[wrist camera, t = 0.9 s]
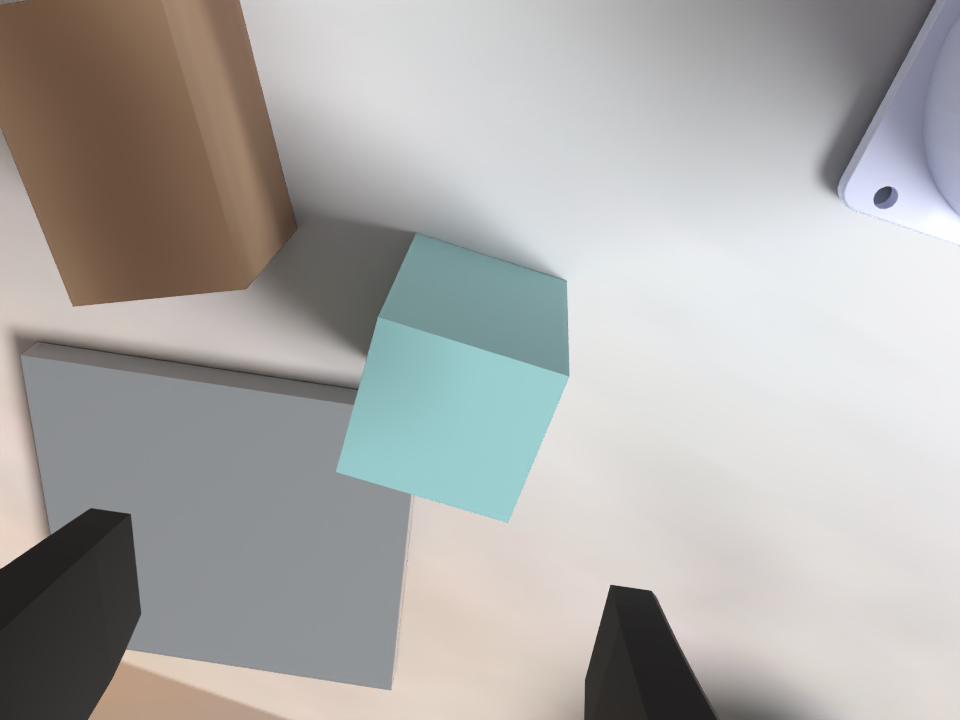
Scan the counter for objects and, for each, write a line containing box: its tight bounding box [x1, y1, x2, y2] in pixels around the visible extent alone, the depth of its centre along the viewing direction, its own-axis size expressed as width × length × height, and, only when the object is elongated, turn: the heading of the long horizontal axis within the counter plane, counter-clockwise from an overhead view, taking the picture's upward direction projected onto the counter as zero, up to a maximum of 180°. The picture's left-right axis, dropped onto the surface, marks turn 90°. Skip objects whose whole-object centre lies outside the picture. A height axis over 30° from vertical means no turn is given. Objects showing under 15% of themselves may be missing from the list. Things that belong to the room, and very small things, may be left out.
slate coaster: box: [20, 342, 414, 690], centre depth 25 cm, size 11×11×1 cm
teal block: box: [336, 233, 569, 523], centre depth 19 cm, size 4×4×5 cm
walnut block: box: [0, 0, 297, 306], centre depth 18 cm, size 4×6×4 cm, turn 8°
